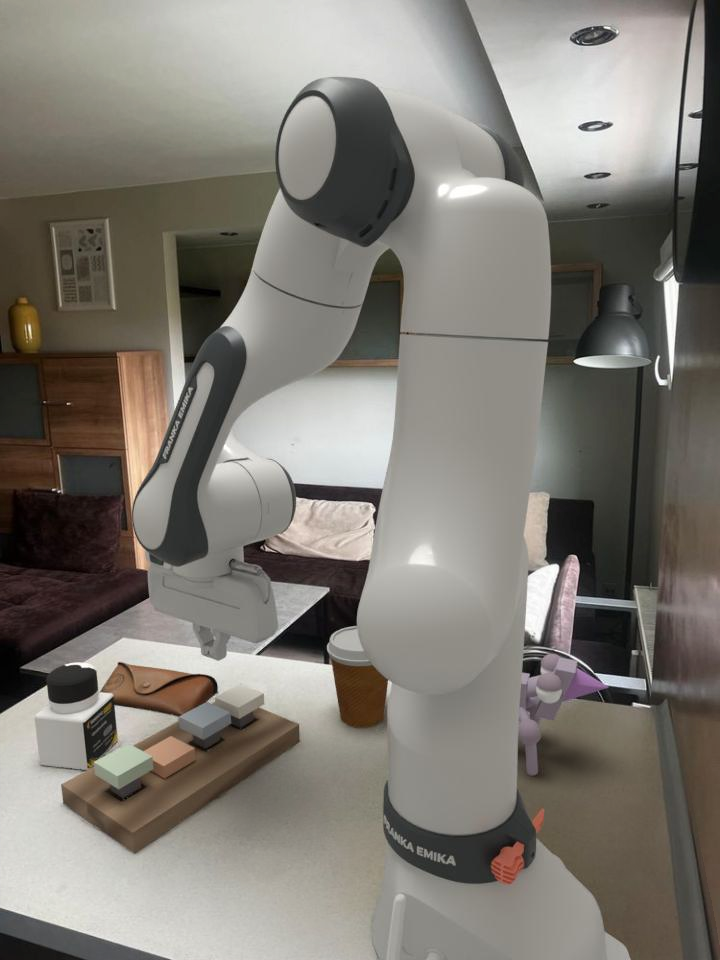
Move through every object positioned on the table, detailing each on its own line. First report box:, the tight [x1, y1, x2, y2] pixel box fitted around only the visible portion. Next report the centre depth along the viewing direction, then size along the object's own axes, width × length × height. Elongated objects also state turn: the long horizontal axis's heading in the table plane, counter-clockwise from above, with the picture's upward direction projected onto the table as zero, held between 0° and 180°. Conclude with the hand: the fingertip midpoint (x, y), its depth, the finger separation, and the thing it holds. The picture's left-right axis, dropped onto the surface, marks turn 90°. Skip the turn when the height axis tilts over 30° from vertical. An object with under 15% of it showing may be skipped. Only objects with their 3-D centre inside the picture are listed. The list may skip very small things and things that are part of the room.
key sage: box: [93, 743, 153, 798], centre depth 80 cm, size 5×5×4 cm
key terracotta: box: [143, 736, 196, 778], centre depth 85 cm, size 5×5×4 cm
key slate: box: [178, 701, 231, 749], centre depth 89 cm, size 5×5×4 cm
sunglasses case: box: [99, 661, 219, 717], centre depth 107 cm, size 18×7×7 cm, turn 73°
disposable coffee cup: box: [326, 625, 389, 728], centre depth 99 cm, size 10×10×12 cm
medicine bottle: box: [34, 661, 119, 771], centre depth 91 cm, size 7×7×12 cm
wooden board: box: [60, 701, 301, 854], centre depth 88 cm, size 14×26×2 cm, turn 143°
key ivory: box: [214, 683, 265, 728], centre depth 94 cm, size 5×5×4 cm
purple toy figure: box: [518, 653, 609, 776], centre depth 89 cm, size 20×11×14 cm, turn 69°
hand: (214, 656), depth 90 cm, fingers closed
